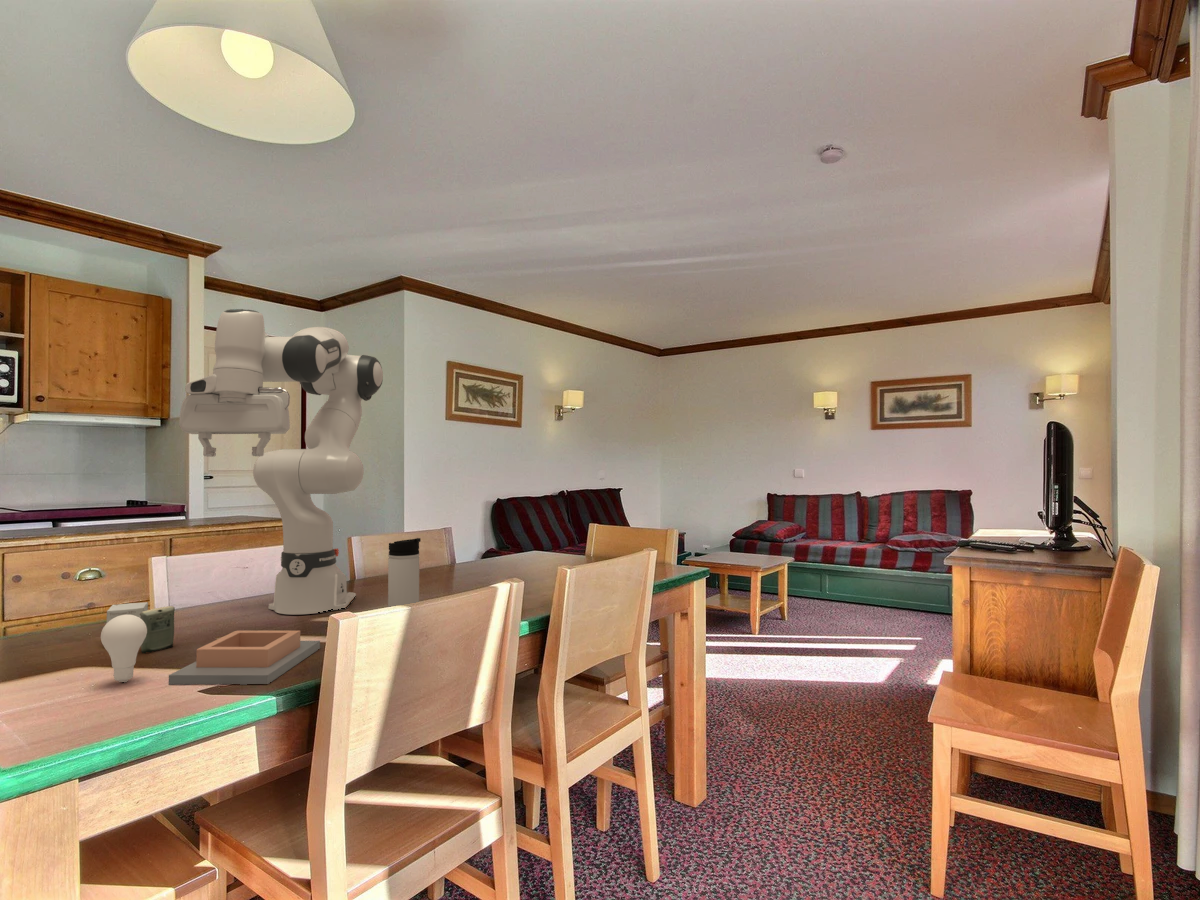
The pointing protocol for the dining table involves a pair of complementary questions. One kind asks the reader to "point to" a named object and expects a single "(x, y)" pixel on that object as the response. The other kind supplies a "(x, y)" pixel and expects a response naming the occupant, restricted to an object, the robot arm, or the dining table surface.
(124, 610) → the product box
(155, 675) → the dining table surface
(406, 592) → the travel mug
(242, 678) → the board
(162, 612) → the labelled grey plug block
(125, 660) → the lightbulb
